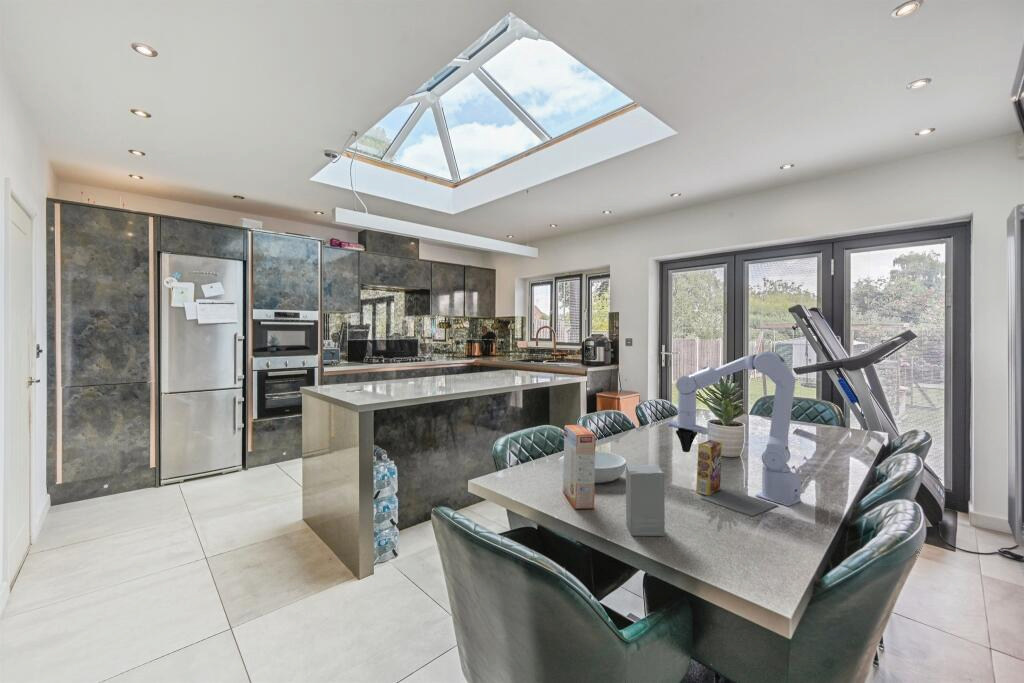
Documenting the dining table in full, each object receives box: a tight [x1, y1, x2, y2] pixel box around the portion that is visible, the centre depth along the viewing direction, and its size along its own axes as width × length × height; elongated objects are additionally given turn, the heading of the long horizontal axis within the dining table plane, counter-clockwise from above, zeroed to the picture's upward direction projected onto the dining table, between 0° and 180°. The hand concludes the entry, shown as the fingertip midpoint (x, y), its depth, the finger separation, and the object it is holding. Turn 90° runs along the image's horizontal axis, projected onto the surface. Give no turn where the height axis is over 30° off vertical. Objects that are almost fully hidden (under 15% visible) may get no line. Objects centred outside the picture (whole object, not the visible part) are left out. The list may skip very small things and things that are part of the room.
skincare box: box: [625, 464, 666, 537], centre depth 106 cm, size 8×7×16 cm
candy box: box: [696, 439, 723, 496], centre depth 135 cm, size 9×4×15 cm, turn 134°
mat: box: [700, 488, 779, 517], centre depth 126 cm, size 15×14×1 cm
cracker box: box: [562, 424, 596, 510], centre depth 126 cm, size 14×6×21 cm, turn 7°
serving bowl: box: [562, 450, 627, 484], centre depth 146 cm, size 21×21×7 cm
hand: (686, 451), depth 146 cm, fingers closed
